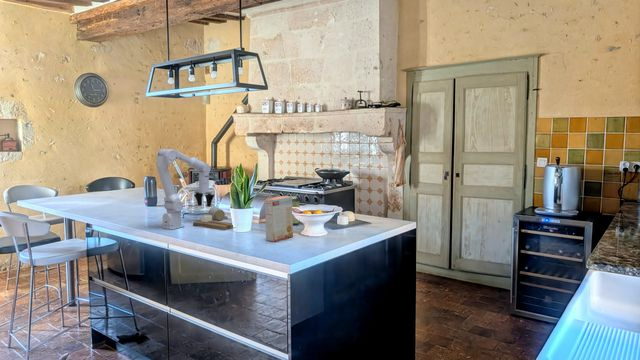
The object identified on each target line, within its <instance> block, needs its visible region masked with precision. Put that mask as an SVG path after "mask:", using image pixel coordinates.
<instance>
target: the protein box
mask: <svg viewBox="0 0 640 360" xmlns="http://www.w3.org/2000/svg"><path fill="white" fill-rule="evenodd" d="M274 197H275V196H273V197H272V198H274ZM292 207H299V208H300V196H292ZM299 225H300V220H299V221H298V220H297V219H295V218H294V216H293V227H294V226H295V227H296V226H297V227H298V226H299Z"/></svg>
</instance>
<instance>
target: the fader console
mask: <svg viewBox="0 0 640 360" xmlns="http://www.w3.org/2000/svg"><path fill="white" fill-rule="evenodd" d="M232 223H233V222H229V221H228V222H227V221H222V220H220V221H217V220H213V219H212V221H209V222H202V219H200V220H197V221H193V222H192V226H193V227H200V228H207V229H213V230H219V231H227V230H230V229H234V228H233V225H232Z"/></svg>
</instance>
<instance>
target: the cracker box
mask: <svg viewBox="0 0 640 360" xmlns="http://www.w3.org/2000/svg"><path fill="white" fill-rule="evenodd" d="M273 197H274V198H273ZM273 197H269V198H264V211H265V212H264V215H265V221H264V222H265V241H268V242H273V243H275V241H276V242H278V241H279V242H280V241H282V240H286V239H290V237H291V238H293V237H294V228H293V227H294V226H293V214H292V197H293V196H291V195H282V196H281V195H279V196H273Z"/></svg>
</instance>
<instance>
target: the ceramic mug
mask: <svg viewBox="0 0 640 360" xmlns="http://www.w3.org/2000/svg"><path fill="white" fill-rule="evenodd" d="M207 215H212V220H214V221H222V220H223V219H226V220H228V216H227V215H226V214H225V211H224V210H223V209H221V208H219V207H216V206H212V207H211V208H210V209H208V214H207Z"/></svg>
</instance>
